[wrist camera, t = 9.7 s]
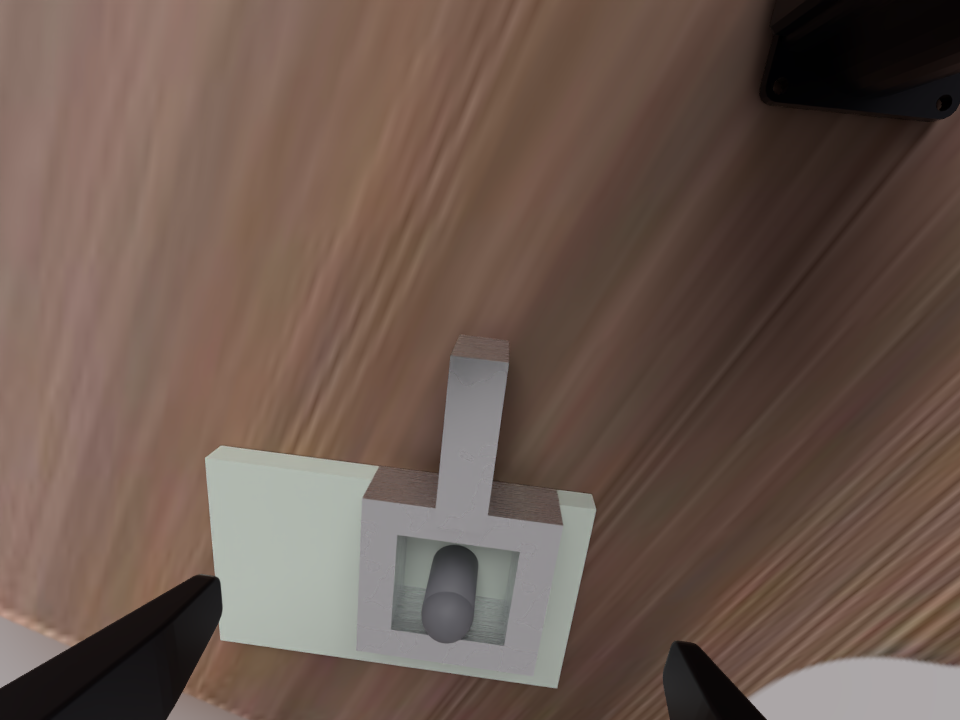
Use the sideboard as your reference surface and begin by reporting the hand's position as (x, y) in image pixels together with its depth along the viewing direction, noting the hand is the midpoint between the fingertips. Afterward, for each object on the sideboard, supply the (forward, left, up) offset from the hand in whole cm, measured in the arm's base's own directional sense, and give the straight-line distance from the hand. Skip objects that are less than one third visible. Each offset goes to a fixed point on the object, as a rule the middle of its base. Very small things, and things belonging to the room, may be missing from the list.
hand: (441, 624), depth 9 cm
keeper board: (+3, +10, -12) cm, 16 cm away
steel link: (0, +4, -11) cm, 11 cm away
